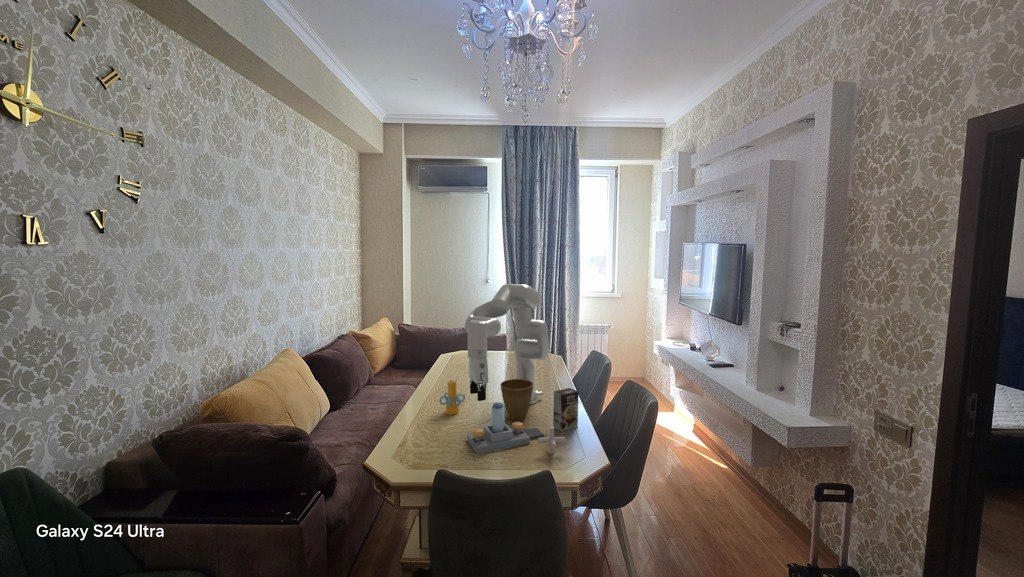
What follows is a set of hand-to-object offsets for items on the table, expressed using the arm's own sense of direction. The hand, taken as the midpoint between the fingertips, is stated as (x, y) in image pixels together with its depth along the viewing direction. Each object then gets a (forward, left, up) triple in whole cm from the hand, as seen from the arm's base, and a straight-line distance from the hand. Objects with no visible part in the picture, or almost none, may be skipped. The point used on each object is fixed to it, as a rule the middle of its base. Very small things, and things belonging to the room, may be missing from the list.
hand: (477, 396), depth 170 cm
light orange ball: (-17, 0, -18) cm, 25 cm away
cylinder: (0, -37, -20) cm, 42 cm away
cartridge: (-8, 0, -17) cm, 19 cm away
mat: (-24, 0, -20) cm, 31 cm away
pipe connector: (-23, +17, -20) cm, 35 cm away
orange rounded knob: (0, 0, -18) cm, 18 cm away
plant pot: (-25, -19, -20) cm, 38 cm away
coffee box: (-40, -1, -20) cm, 45 cm away
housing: (-8, 0, -20) cm, 22 cm away
